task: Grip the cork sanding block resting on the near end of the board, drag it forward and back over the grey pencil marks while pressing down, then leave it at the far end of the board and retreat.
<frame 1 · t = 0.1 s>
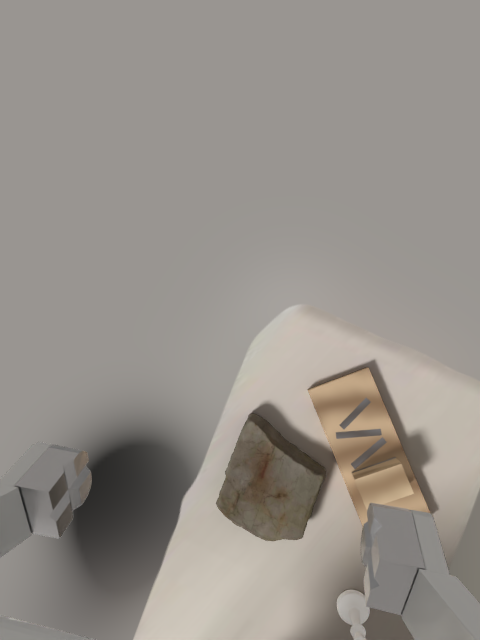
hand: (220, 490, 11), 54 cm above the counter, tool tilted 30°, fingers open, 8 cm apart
marble piece: (273, 475, 65), on the counter
sanding block: (379, 478, 60), point 1 cm above the counter, touching board
chess piece: (352, 605, 61), on the counter
board: (366, 450, 62), on the counter
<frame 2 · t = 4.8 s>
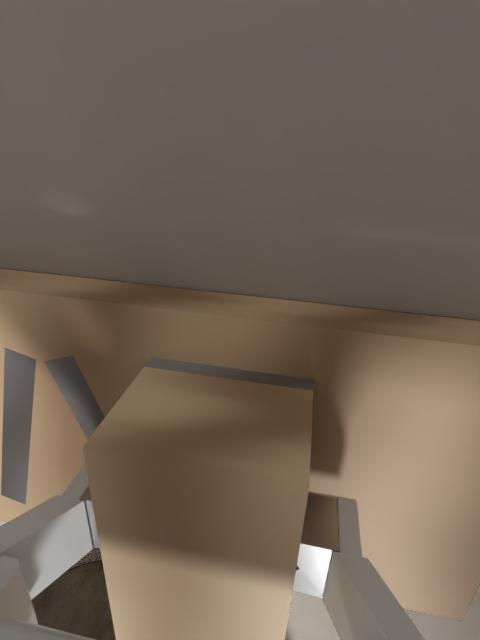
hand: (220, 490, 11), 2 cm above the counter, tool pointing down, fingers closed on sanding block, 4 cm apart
marble piece: (138, 633, 21), on the counter
sanding block: (226, 465, 12), point 1 cm above the counter, touching board, gripper
board: (125, 414, 14), on the counter
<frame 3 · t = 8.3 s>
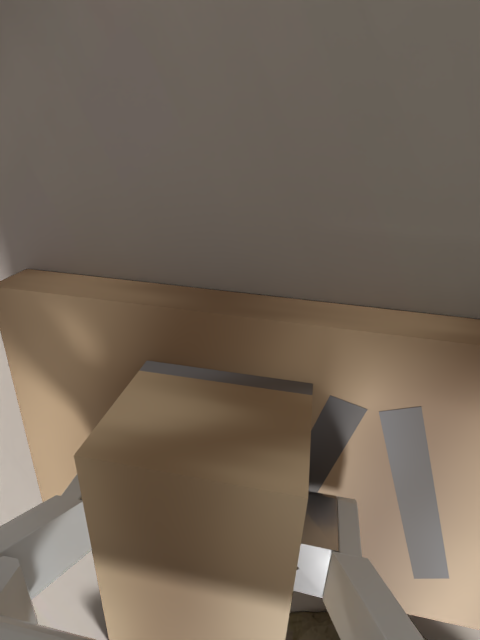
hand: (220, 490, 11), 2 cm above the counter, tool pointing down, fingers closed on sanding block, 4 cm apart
sanding block: (224, 470, 12), point 2 cm above the counter, touching board, gripper
board: (407, 462, 12), on the counter
when the fingers open (2 cm above the counter, at t = 13.0 s): sanding block stays where it is, resting on board.
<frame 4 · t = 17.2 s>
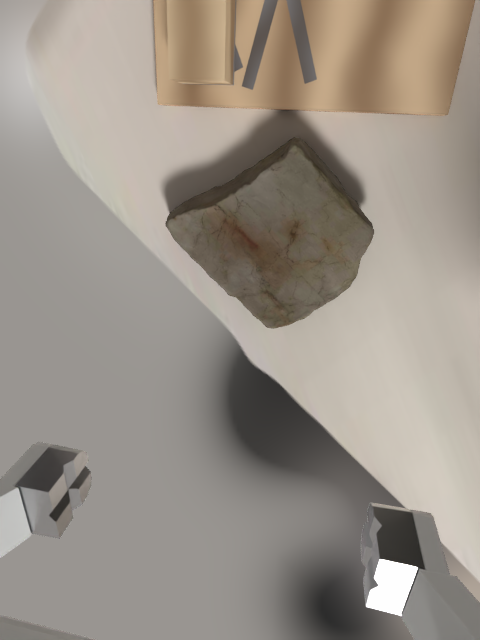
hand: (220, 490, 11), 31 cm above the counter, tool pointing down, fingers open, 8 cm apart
marble piece: (276, 228, 40), on the counter
sanding block: (208, 34, 32), point 2 cm above the counter, touching board
board: (302, 40, 32), on the counter
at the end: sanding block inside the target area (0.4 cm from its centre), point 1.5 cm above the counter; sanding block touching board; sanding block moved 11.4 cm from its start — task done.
